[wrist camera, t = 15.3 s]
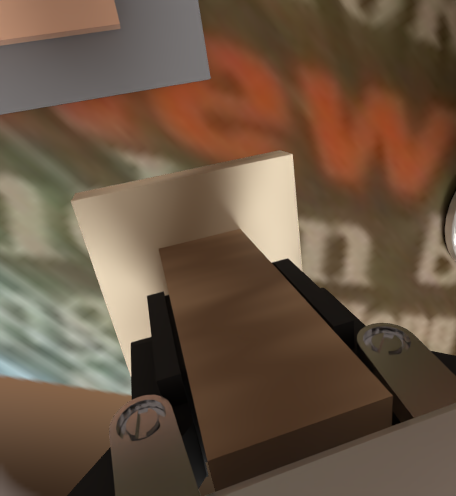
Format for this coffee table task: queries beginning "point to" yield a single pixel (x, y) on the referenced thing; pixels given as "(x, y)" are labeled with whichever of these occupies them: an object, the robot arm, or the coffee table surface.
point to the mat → (107, 58)
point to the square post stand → (232, 311)
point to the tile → (54, 19)
